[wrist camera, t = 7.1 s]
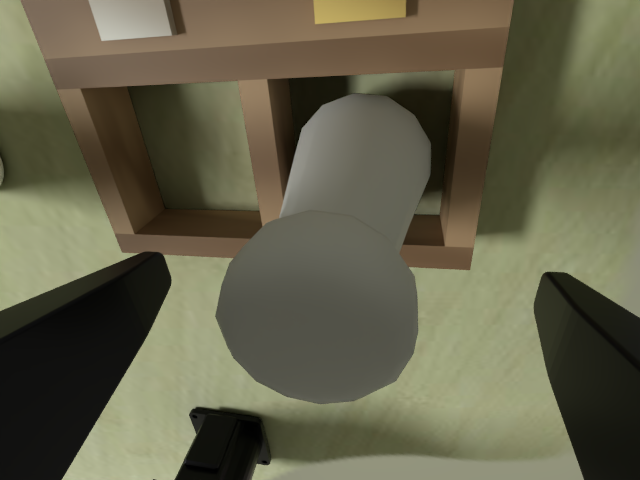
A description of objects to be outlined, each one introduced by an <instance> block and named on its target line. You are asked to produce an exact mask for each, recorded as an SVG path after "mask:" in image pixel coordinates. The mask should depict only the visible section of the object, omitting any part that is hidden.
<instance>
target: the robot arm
mask: <svg viewBox="0 0 640 480" xmlns="http://www.w3.org/2000/svg"><path fill="white" fill-rule="evenodd" d="M170 286H171V275H170V272H169V270H168V267H167V264H166V261H165V258H164V256H163V254H162V253H160V252H151V251H145V252H142V253H140V254H137V255H135V256H132V257H130V258H128V259H125V260H123V261H120V262H118V263H116V264H113V265H111V266H108V267H106V268H103V269H101V270H99V271H96V272H94V273H91V274H89V275H87V276H84V277H82V278H79V279H77V280H74V281H72V282H70V283H67V284H65V285H62V286H60V287H58V288H55V289H53V290H50V291H48V292H45V293H43V294H41V295H38V296H36V297H33V298H31V299H29V300H26V301H24V302H21V303H19V304H16V305H14V306H12V307H9V308H7V309H4V310H2V311H0V480H62V478H63V477H64V475H65V473H66V472H67V470H68V468H69V467H70V465H71V463H72V462H73V460H74V458H75V457H76V455H77V453H78V452H79V450H80V448H81V446H82V445H83V443H84V441H85V440H86V438H87V436H88V435H89V433H90V431H91V430H92V428H93V426H94V425H95V423H96V421H97V420H98V418H99V416H100V415H101V413H102V411H103V410H104V408H105V406H106V405H107V403H108V401H109V400H110V398H111V396H112V395H113V393H114V391H115V390H116V388H117V386H118V385H119V383H120V381H121V379H122V378H123V376H124V374H125V373H126V371H127V369H128V368H129V366H130V364H131V363H132V361H133V359H134V358H135V356H136V354H137V353H138V351H139V349H140V348H141V346H142V344H143V343H144V341H145V339H146V337H147V335H148V333H149V331H150V329H151V327H152V325H153V323H154V321H155V319H156V317H157V315H158V312H159V310H160V308H161V306H162V304H163V302H164V300H165V297H166V295H167V293H168V291H169V289H170ZM534 315H535V319H536V324H537V328H538V333H539V338H540V342H541V347H542V352H543V356H544V361H545V365H546V369H547V374H548V377H549V380H550V384H551V387H552V390H553V392H554V395H555V398H556V401H557V404H558V407H559V409H560V412H561V415H562V418H563V421H564V424H565V427H566V429H567V432H568V435H569V438H570V441H571V444H572V446H573V449H574V452H575V455H576V458H577V461H578V463H579V466H580V469H581V472H582V475H583V478H584V480H640V318H639V317H637V316H636V315H634V314H633V313H631V312H629V311H628V310H626V309H624V308H623V307H621V306H620V305H618V304H616V303H615V302H613V301H612V300H610V299H608V298H607V297H605V296H603V295H602V294H600V293H599V292H597V291H595V290H594V289H592V288H590V287H589V286H587V285H586V284H584V283H582V282H581V281H579V280H578V279H576V278H574V277H573V276H571V275H569V274H568V273H564V272H545V273H544V274H543V275H542V277H541V280H540V283H539V287H538V290H537V294H536V297H535V301H534ZM189 416H190V419H191V421H192V424H193V426H194V429H195V431H196V436H195V439H194V441H193V443H192V445H191V447H190V449H189V451H188V453H187V455H186V457H185V459H184V462H183V464H182V466H181V468H180V470H179V472H178V474H177V476H176V478H175V480H251V479H252V476H253V473H254V470H255V467H256V464H262V465H269V464H270V461H271V456H270V452H269V448H268V443H267V439H266V435H265V431H264V427H263V423H262V420H261V419H259V418H257V417H251V416H244V415H236V414H229V413H222V412H215V411H208V410H201V409H192V410H191V412H190V414H189ZM153 480H155V479H153Z"/></svg>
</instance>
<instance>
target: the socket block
mask: <svg viewBox="0 0 640 480" xmlns="http://www.w3.org/2000/svg"><path fill="white" fill-rule="evenodd" d="M21 3H22V5H23V8H24V10H25V13H26V15H27V18H28V20H29V22H30V25H31V27H32V30H33V32H34V35H35V37H36V40H37V42H38V45H39V47H40V50H41V52H42V55H43V57H44V60H45V62H46V65H47V67H48V70H49V72H50V75H51V77H52V80H53V82H54V84H55V87H56V89H57V92H58V94H59V97H60V99H61V102H62V104H63V107H64V109H65V112H66V114H67V117H68V119H69V122H70V124H71V127H72V129H73V132H74V134H75V137H76V139H77V142H78V144H79V147H80V149H81V151H82V154H83V156H84V159H85V161H86V164H87V166H88V169H89V171H90V174H91V176H92V179H93V181H94V184H95V186H96V189H97V191H98V194H99V196H100V199H101V201H102V204H103V206H104V209H105V211H106V213H107V216H108V218H109V221H110V223H111V226H112V228H113V231H114V233H115V236H116V238H117V241H118V243H119V246H120V248H121V251H122V252H123V253H142V252H145V251H151V252H160V253H162V254H163V255H182V256H202V257H222V258H234V257H235V256H236V255H237V254H238V252H239V251H240V250H241V249H242V248H243V246H244V245H245V244H246V243H247V242H248V241H249V240H250V239H251V238H252V237H253V236H254V235H255V234H256V233H257V232H258V231H259V230H260V229H261V228H262V227H263V226H264V225H265V224H266V223H268V222H270V221H272V220H275V219H278V218H279V216H280V212H281V208H282V204H283V200H284V196H285V192H286V188H287V184H288V180H289V176H290V172H291V168H292V164H293V160H294V156H295V152H296V144H295V135H294V125H293V116H292V106H291V97H290V87H289V78H301V77H321V76H341V75H361V74H381V73H401V72H421V71H441V70H455V72H454V82H453V91H452V101H451V111H450V120H449V130H448V140H447V149H446V159H445V169H444V178H443V188H442V198H441V207H440V215H413V218H412V220H411V223H410V225H409V228H408V231H407V233H406V236H405V239H404V242H403V244H402V247H401V250H400V253H399V254H400V256H401V257H402V259H403V260H404V261H405V263H406V264H407V266H408V267H419V268H439V269H459V270H470V267H471V261H472V255H473V249H474V242H475V236H476V230H477V224H478V218H479V212H480V206H481V200H482V193H483V187H484V181H485V175H486V169H487V163H488V157H489V151H490V144H491V138H492V132H493V126H494V120H495V114H496V108H497V102H498V95H499V89H500V83H501V77H502V71H503V65H504V59H505V53H506V46H507V40H508V34H509V28H510V22H511V16H512V10H513V4H514V0H21ZM221 81H238V85H239V91H240V97H241V103H242V109H243V115H244V121H245V126H246V132H247V138H248V144H249V150H250V156H251V162H252V168H253V174H254V180H255V185H256V191H257V197H258V203H259V209H260V211H231V210H189V209H165V207H164V204H163V201H162V198H161V194H160V191H159V188H158V185H157V182H156V178H155V175H154V172H153V169H152V166H151V162H150V159H149V156H148V153H147V150H146V146H145V143H144V140H143V137H142V134H141V130H140V127H139V124H138V121H137V118H136V114H135V111H134V108H133V105H132V101H131V98H130V95H129V92H128V89H127V86H140V85H161V84H181V83H201V82H221Z"/></svg>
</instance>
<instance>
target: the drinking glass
mask: <svg viewBox="0 0 640 480" xmlns="http://www.w3.org/2000/svg"><path fill="white" fill-rule="evenodd" d="M3 178H4V167H3V163H2V160H1V157H0V186H1V184H2V182H3Z"/></svg>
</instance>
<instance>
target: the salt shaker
mask: <svg viewBox="0 0 640 480" xmlns="http://www.w3.org/2000/svg"><path fill="white" fill-rule="evenodd" d="M430 175H431V142H430V141H429V139H428V137H427V136H426V134H425V132H424V130H423V129H422V127H421V125H420V123H419V122H418V120H417V118H416V117H415V115H414V114H412V113H411V112H410V111H408V110H407V109H405V108H404V107H402V106H401V105H399V104H398V103H396V102H395V101H393V100H392V99H390V98H389V97H388V96H382V95H371V94H360V93H353V94H350V95H348V96H345V97H342V98H340V99H337V100H334V101H332V102H329V103H327V104H324V105H322V106H321V107H320V109H319V110H318V111H317V112H316V113H315V114H314V115H313V116H312V118H311V119H310V120H309V121H308V122H307V123H306V124H305V126H304V127H303V128H302V130H301V134H300V137H299V141H298V145H297V149H296V152H295V156H294V160H293V164H292V168H291V172H290V176H289V180H288V184H287V188H286V192H285V196H284V200H283V204H282V208H281V212H280V216H279V218H278V219H275V220H272V221H270V222H268V223H266V224H265V225H264V226H263V227H262V228H261V229H260V230H259V231H258V232H257V233H256V234H255V235H254V236H253V237H252V238H251V239H250V240H249V241H248V242H247V243H246V244H245V245H244V246H243V248H242V249H241V250H240V251H239V252H238V254H237V255H236V256H235V257H234V259H233V260H232V261H231V262H230V264H229V267H228V269H227V272H226V275H225V277H224V280H223V283H222V286H221V291H220V296H219V301H218V306H217V311H216V316H215V317H216V319H217V322H218V324H219V327H220V329H221V332H222V334H223V337H224V339H225V342H226V344H227V346H228V349H229V350H230V352H231V354H232V356H233V358H234V359H235V360H236V361H237V362H238V363H239V364H240V365H241V366H242V367H243V368H244V369H245V370H246V371H247V372H248V373H249V374H250V375H251V376H252V377H253V378H254V379H255V380H256V381H257V382H259V383H261V384H263V385H265V386H267V387H269V388H271V389H273V390H274V391H276V392H278V393H280V394H282V395H284V396H286V397H290V398H295V399H299V400H304V401H308V402H313V403H317V404H328V403H338V402H349V401H355V400H357V399H359V398H362V397H364V396H366V395H368V394H370V393H372V392H374V391H377V390H379V389H381V388H383V387H385V386H387V385H389V384H391V383H393V382H395V381H396V380H397V378H398V377H399V375H400V374H401V372H402V371H403V369H404V368H405V366H406V364H407V363H408V361H409V360H410V358H411V357H412V355H413V353H414V348H415V344H416V339H417V334H418V303H417V290H416V283H415V277H414V275H413V273H412V272H411V270H410V269H409V267H408V266H407V264H406V263H405V261H404V260H403V259H402V257H401V256H400V254H399V253H400V250H401V247H402V244H403V242H404V239H405V236H406V233H407V231H408V228H409V225H410V223H411V220H412V218H413V215H414V213H415V211H416V208H417V206H418V203H419V201H420V199H421V196H422V194H423V191H424V189H425V187H426V184H427V182H428V179H429V177H430Z"/></svg>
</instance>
